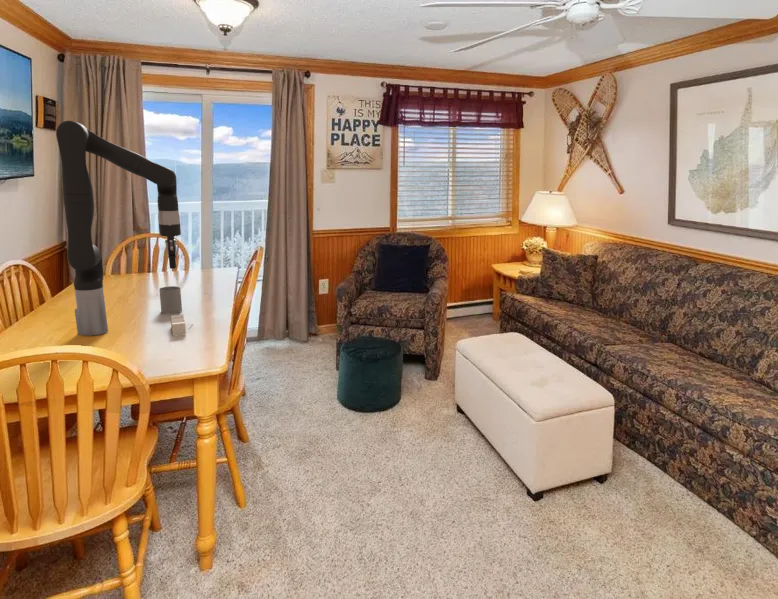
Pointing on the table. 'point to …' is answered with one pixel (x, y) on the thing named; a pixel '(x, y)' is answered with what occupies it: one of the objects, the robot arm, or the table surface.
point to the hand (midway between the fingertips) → (172, 268)
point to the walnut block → (178, 325)
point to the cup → (170, 299)
